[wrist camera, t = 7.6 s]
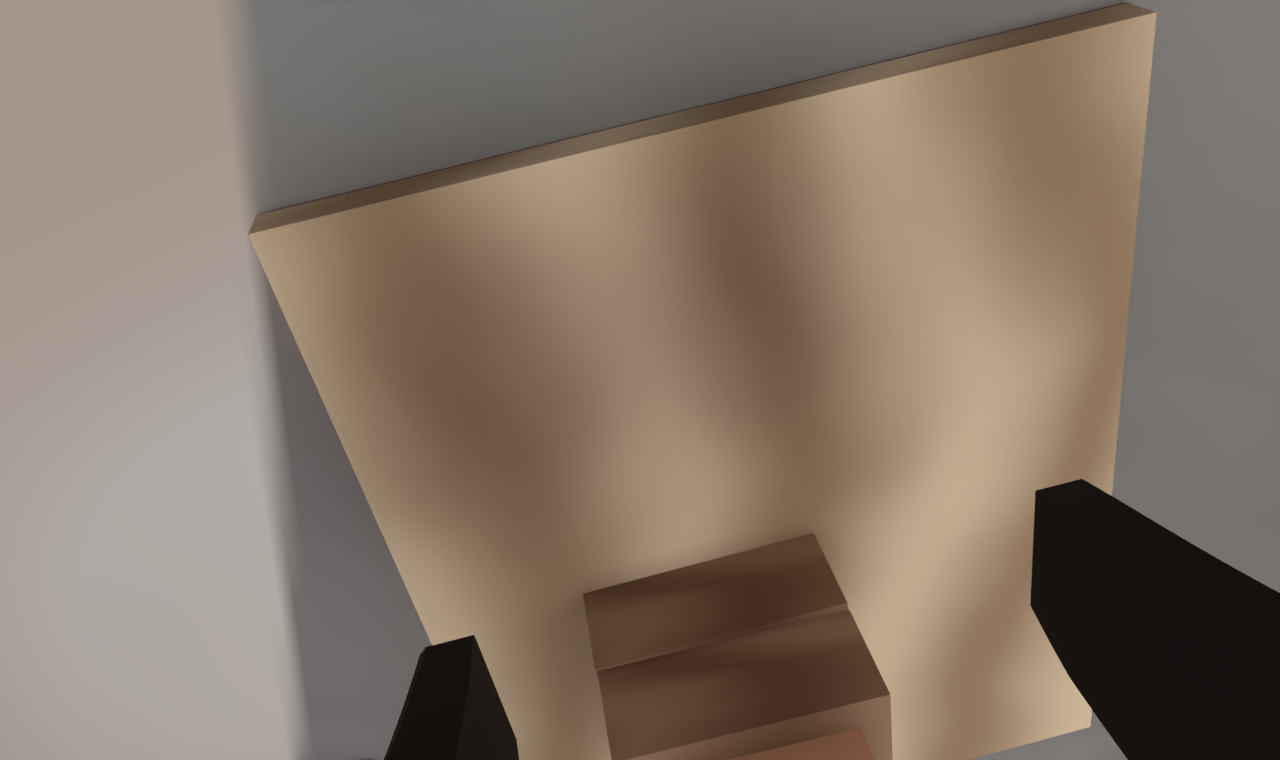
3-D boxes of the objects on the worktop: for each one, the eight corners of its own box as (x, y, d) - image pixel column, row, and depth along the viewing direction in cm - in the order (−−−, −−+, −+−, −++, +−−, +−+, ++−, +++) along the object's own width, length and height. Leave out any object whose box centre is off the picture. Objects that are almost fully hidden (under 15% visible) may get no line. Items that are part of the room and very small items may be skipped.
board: (533, 847, 31) (536, 877, 30) (257, 214, 19) (248, 234, 18) (1073, 701, 32) (1090, 726, 31) (1126, 2, 20) (1156, 11, 19)
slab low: (630, 743, 28) (644, 822, 25) (582, 593, 24) (595, 669, 22) (833, 688, 28) (864, 762, 26) (813, 532, 25) (847, 602, 22)
